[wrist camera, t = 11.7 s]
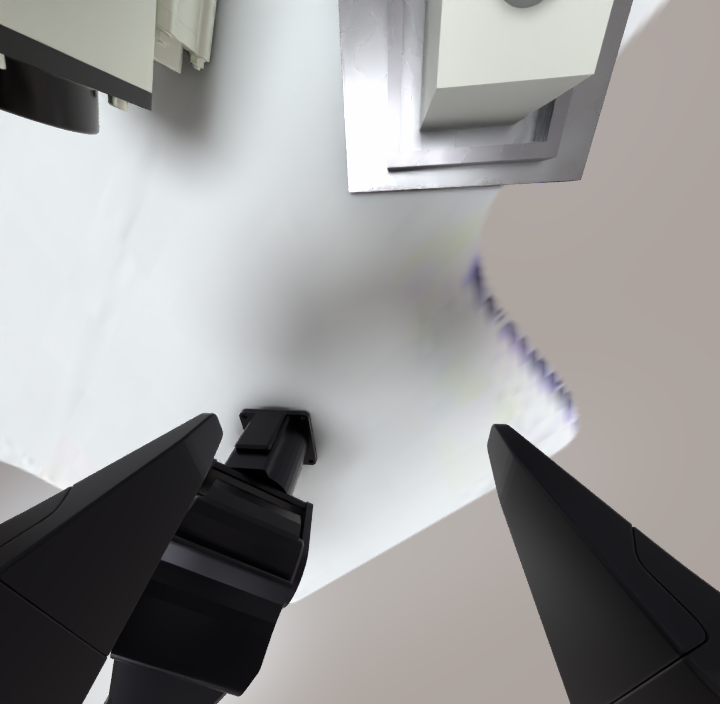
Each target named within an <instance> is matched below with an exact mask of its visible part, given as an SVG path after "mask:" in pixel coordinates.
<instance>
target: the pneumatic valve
mask: <svg viewBox="0 0 720 704" xmlns="http://www.w3.org/2000/svg"><path fill="white" fill-rule="evenodd" d="M216 3H217V0H0V110H3V111H6V112H9V113H12V114H15V115H18V116H21V117H24V118H27V119H30V120H33V121H36V122H39V123H43V124H46V125H50V126H53V127H57V128H60V129H64V130H68V131H73V132H77V133H82V134H98V133H99V108H98V91H100V92H103V93H106V94H108V103H109V104H110V105H112V106H114V107H116V108H118V109H121V110H123V111H127V103H128V102H129V103H132V104H135V105H137V106H140V107H142V108H145V109H148V110H150V111H151V105H152V83H153V62H154V60H155V61H157V62H159V63H161V64H162V65H164V66H166V67H168V68H170V69H172V70H173V71H175V72H177V73H179V74H180V73H181V70H182V58H183V49H185V50H187V51H189V54H191V57H190V62H191V63H193V67H194V68H195V69H197V70H199V71H200V69H203V67H204V63H206V62H208V63H209V61H210V52H211V44H212V36H213V28H214V20H215V11H216ZM148 91H149V92H148ZM150 92H151V93H150Z"/></svg>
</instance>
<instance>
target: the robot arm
mask: <svg viewBox="0 0 720 704" xmlns="http://www.w3.org/2000/svg"><path fill="white" fill-rule="evenodd" d="M239 417H240V420H241V423H242V426H243V429H244V432H243V433H242V435H241V436H240V438H239V439H238V441H237V443H236V444H235V449H234V450H233V452H232V453H231V455H230V456H229V458H228V460H227V461H226V463H225V464H222V463H220V462H218V461H217V460H216V459H214V456H215V454H216V451H217V449H218V447H219V444H220V442H221V440H222V436H223V431H222V428H221V425H220V423H219V420H218V417H217V416H216V415H215V414H213V413H202V414H200V415H198V416H196V417H195V418H193V419H191V420H189V421H187V422H186V423H184V424H182V425H180V426H178V427H177V428H175V429H173V430H171V431H169V432H168V433H166V434H164V435H162V436H160V437H159V438H157V439H155V440H153V441H151V442H150V443H148V444H146V445H144V446H142V447H141V448H139V449H137V450H135V451H133V452H132V453H130V454H128V455H126V456H124V457H123V458H121V459H119V460H117V461H115V462H114V463H112V464H110V465H108V466H106V467H105V468H103V469H101V470H99V471H97V472H96V473H94V474H92V475H90V476H88V477H87V478H85V479H83V480H81V481H79V482H78V483H76V484H74V485H73V487H68V488H67V489H65V490H63V491H61V492H60V493H58V494H56V495H54V496H52V497H50V498H49V499H47V500H45V501H43V502H41V503H39V504H38V505H36V506H34V507H32V508H30V509H28V510H27V511H25V512H23V513H21V514H19V515H17V516H15V517H13V518H11V519H9V520H7V521H5V522H3V523H1V524H0V704H82V703H83V701H84V699H85V698H86V696H87V694H88V692H89V690H90V689H91V687H92V685H93V683H94V681H95V679H96V677H97V676H98V674H99V672H100V670H101V668H102V666H103V665H104V663H105V661H106V659H107V656H108V655H109V653H110V652H111V655H110V658H112V659H114V664H113V671H112V678H111V684H110V691H109V695H108V697H107V699H106V701H105V702H104V704H217V703H218V702H219V701H220V700H221V699H222V698H223V697H224V696H225V695H226V694H227V693H228V694H232V695H235V696H241V695H242V694H243V693H244V691H245V690H246V689H247V687H248V686H249V685H250V683H251V682H252V680H253V679H254V678H255V677H256V675H257V674H258V672H259V670H260V668H261V665H262V662H263V659H264V656H265V653H266V650H267V647H268V644H269V641H270V638H271V635H272V632H273V630H274V627H275V624H276V622H277V619H278V617H279V614H280V612H281V609H282V608H285V607H286V606H287V605H288V604H289V602H290V601H291V599H292V598H293V596H294V594H295V592H296V590H297V588H298V586H299V583H300V581H301V578H302V575H303V572H304V569H305V566H306V562H307V557H308V551H309V541H310V531H311V521H312V511H313V504H311V503H309V502H304V501H302V500H300V499H297V498H295V497H293V496H292V495H293V492H294V489H295V486H296V483H297V480H298V477H299V474H300V471H301V468H302V465H303V464H305V465H314V464H315V463H316V461H317V456H316V450H315V444H314V438H313V432H312V426H311V420H310V415H309V414H308V413H307V412H298V411H268V410H243V411H242V412H241V413H240V415H239ZM303 417H305V418H303ZM487 449H488V454H489V459H490V463H491V467H492V471H493V476H494V480H495V484H496V489H497V493H498V497H499V500H500V504H501V507H502V510H503V513H504V515H505V518H506V521H507V524H508V527H509V530H510V533H511V535H512V538H513V541H514V544H515V547H516V550H517V553H518V555H519V558H520V561H521V564H522V567H523V569H524V573H525V575H526V578H527V581H528V584H529V587H530V590H531V593H532V595H533V598H534V601H535V604H536V607H537V610H538V613H539V615H540V618H541V621H542V624H543V627H544V630H545V632H546V635H547V638H548V641H549V644H550V647H551V649H552V652H553V655H554V658H555V661H556V664H557V667H558V670H559V672H560V675H561V678H562V681H563V684H564V687H565V689H566V692H567V695H568V698H569V701H570V704H720V592H719V591H718V590H716V589H715V588H714V587H712V586H711V585H709V584H708V583H707V582H705V581H704V580H703V579H701V578H700V577H699V576H697V575H696V574H695V573H693V572H692V571H691V570H689V569H688V568H687V567H685V566H684V565H683V564H681V563H680V562H679V561H678V560H676V559H675V558H674V557H672V556H671V555H670V554H669V553H667V552H666V551H665V550H664V549H662V548H661V547H660V546H658V545H657V544H656V543H654V542H653V541H652V540H651V539H650V538H648V537H647V536H646V535H645V534H643V533H642V532H641V531H640V530H638V529H637V528H636V527H632V524H631V523H630V522H628V521H627V520H626V519H624V518H623V517H622V516H621V515H620V514H618V513H617V512H616V511H615V510H613V509H612V508H611V507H610V506H608V505H607V504H606V503H605V502H603V501H602V500H601V499H600V498H598V497H597V496H596V495H595V494H593V493H592V492H591V491H590V490H588V489H587V488H586V487H585V486H584V485H582V484H581V483H580V482H579V481H577V480H576V479H575V478H574V477H572V476H571V475H570V474H569V473H567V472H566V471H565V470H563V469H562V468H561V467H560V466H558V465H557V464H556V463H555V462H554V461H552V460H551V459H550V458H549V457H548V456H546V455H545V454H544V453H543V452H541V451H540V450H539V449H538V448H536V447H535V446H534V445H533V444H531V443H530V442H529V441H528V440H526V439H525V438H524V437H523V436H521V435H520V434H519V433H518V432H516V431H515V430H514V429H513V428H512V427H510V426H509V425H507V424H493V425H492V427H491V431H490V435H489V439H488V443H487Z"/></svg>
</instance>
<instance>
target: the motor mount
mask: <svg viewBox="0 0 720 704" xmlns="http://www.w3.org/2000/svg"><path fill="white" fill-rule="evenodd" d="M338 1H339V19H340V38H341V57H342V75H343V94H344V112H345V131H346V149H347V168H348V187H349V192H350V193H356V192H375V191H394V190H413V189H432V188H451V187H470V186H489V185H507V184H526V183H544V182H564V181H576V180H581V178H582V174H583V171H584V167H585V164H586V161H587V157H588V154H589V150H590V147H591V143H592V139H593V136H594V133H595V129H596V126H597V123H598V119H599V116H600V112H601V109H602V105H603V102H604V98H605V95H606V92H607V88H608V85H609V81H610V78H611V74H612V71H613V67H614V64H615V61H616V57H617V54H618V50H619V47H620V43H621V40H622V37H623V33H624V30H625V26H626V23H627V19H628V16H629V12H630V9H631V6H632V2H633V0H614V1H613V5H612V9H611V13H610V16H609V20H608V24H607V27H606V31H605V35H604V39H603V42H602V46H601V50H600V54H599V57H598V61H597V65H596V69H595V72H594V74H593V75H592V76H590V77H589V78H587V79H585V80H584V81H582V82H581V83H579V84H577V85H576V86H574V87H573V88H571V89H569V90H568V91H566V92H565V93H563V94H562V95H560V96H558V97H557V98H555V99H554V100H552V101H550V102H549V103H547V104H546V105H544V106H542V107H541V108H539V109H538V110H536V111H534V112H533V113H531V114H530V115H528V116H527V117H525V118H523V119H522V120H520V121H519V122H517V123H515V124H514V125H501V126H488V127H475V128H461V129H448V130H435V131H422V132H419V124H420V103H421V82H422V61H423V40H424V19H425V0H338Z"/></svg>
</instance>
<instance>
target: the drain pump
mask: <svg viewBox="0 0 720 704" xmlns="http://www.w3.org/2000/svg"><path fill="white" fill-rule="evenodd" d="M613 1H614V0H425V19H424V40H423V61H422V82H421V103H420V124H419V132H422V131H435V130H448V129H461V128H475V127H488V126H501V125H514V124H515V123H517V122H519V121H520V120H522V119H523V118H525V117H527V116H528V115H530V114H531V113H533V112H534V111H536V110H538V109H539V108H541V107H542V106H544V105H546V104H547V103H549V102H550V101H552V100H554V99H555V98H557V97H558V96H560V95H562V94H563V93H565V92H566V91H568V90H569V89H571V88H573V87H574V86H576V85H577V84H579V83H581V82H582V81H584V80H585V79H587V78H589V77H590V76H592V75H593V74H594V72H595V69H596V65H597V61H598V57H599V54H600V50H601V46H602V42H603V39H604V35H605V31H606V27H607V24H608V20H609V16H610V13H611V9H612V5H613Z"/></svg>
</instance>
